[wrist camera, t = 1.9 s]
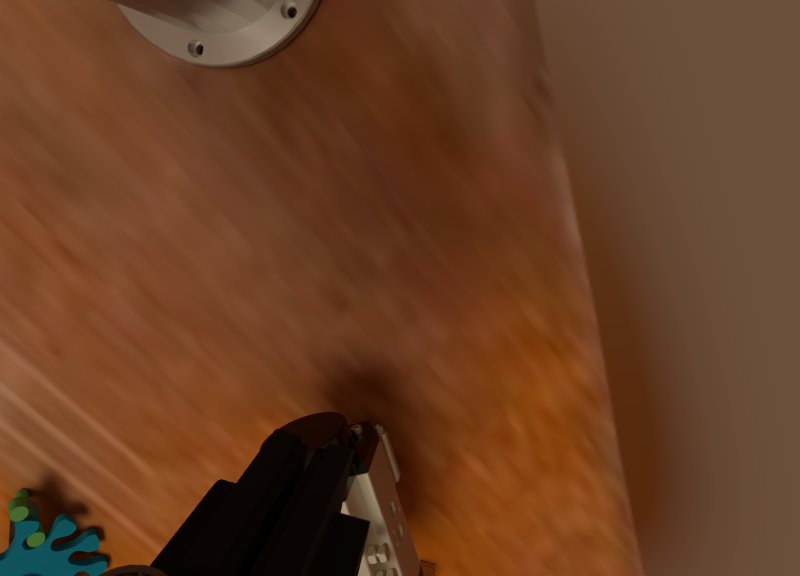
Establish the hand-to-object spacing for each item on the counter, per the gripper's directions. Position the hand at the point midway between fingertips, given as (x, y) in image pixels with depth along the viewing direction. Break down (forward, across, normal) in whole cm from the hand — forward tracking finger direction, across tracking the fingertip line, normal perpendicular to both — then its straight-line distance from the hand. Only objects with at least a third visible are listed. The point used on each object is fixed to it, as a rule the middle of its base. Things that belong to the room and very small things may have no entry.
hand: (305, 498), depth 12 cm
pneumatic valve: (+21, 0, +12) cm, 24 cm away
